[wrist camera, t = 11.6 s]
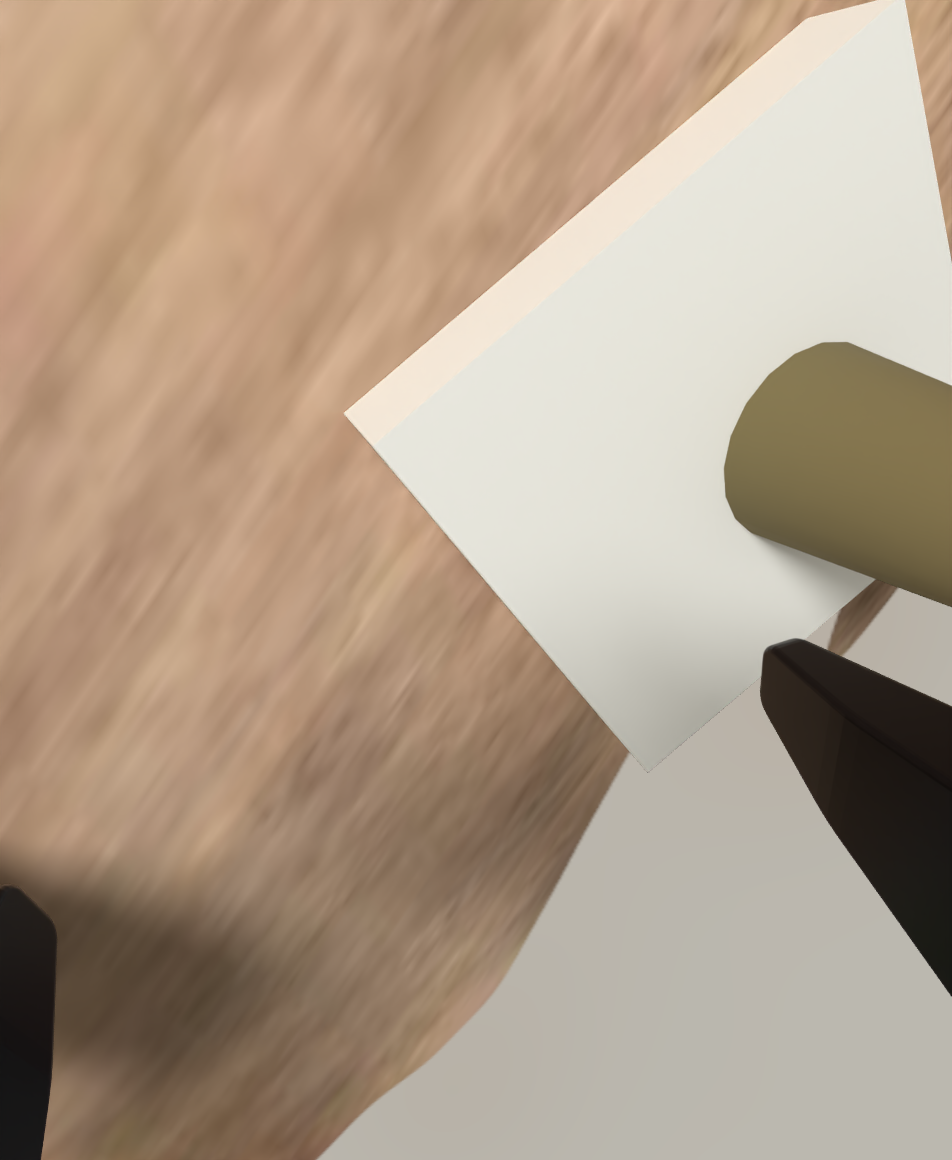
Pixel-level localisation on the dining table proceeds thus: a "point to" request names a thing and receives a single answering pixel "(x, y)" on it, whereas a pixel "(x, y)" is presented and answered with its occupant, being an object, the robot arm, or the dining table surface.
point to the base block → (680, 375)
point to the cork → (850, 466)
